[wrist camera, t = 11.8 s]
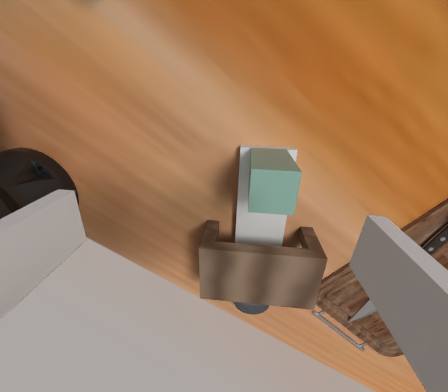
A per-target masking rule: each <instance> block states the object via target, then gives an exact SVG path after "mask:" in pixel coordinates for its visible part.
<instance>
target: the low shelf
mask: <svg viewBox="0 0 448 392" xmlns="http://www.w3.org/2000/svg"><path fill="white" fill-rule="evenodd" d="M218 233H219V221H212V220H208V221H207V224H206V227H205V231H204V234H203V237H202V240H201V243H200V246H199V275H200V298H203V299H213V300H222V301H232V302H242V303H252V304H262V305H272V306H282V307H292V308H302V309H312V310H314V307H315V304H316V300H317V296H318V292H319V289H320V285H321V281H322V277H323V274H324V270H325V266H326V263H327V257H326V255H325V253H324V251H323V249H322V247H321V244H320V242H319V240H318V238H317V236H316V234H315V232H314V230H313V228H311V227H300V232H299V239H300V242H301V245H302V248H293V247H280V246H267V245H254V244H242V243H229V242H217V237H218Z"/></svg>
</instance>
